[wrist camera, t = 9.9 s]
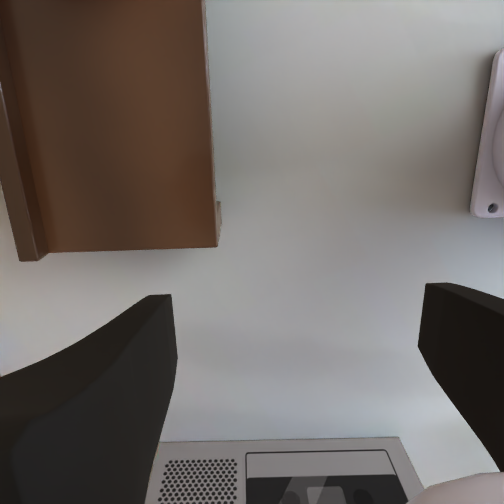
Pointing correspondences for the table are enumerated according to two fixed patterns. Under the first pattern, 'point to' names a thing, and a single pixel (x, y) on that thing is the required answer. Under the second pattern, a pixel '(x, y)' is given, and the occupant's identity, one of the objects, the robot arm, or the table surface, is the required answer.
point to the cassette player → (283, 472)
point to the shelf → (106, 126)
